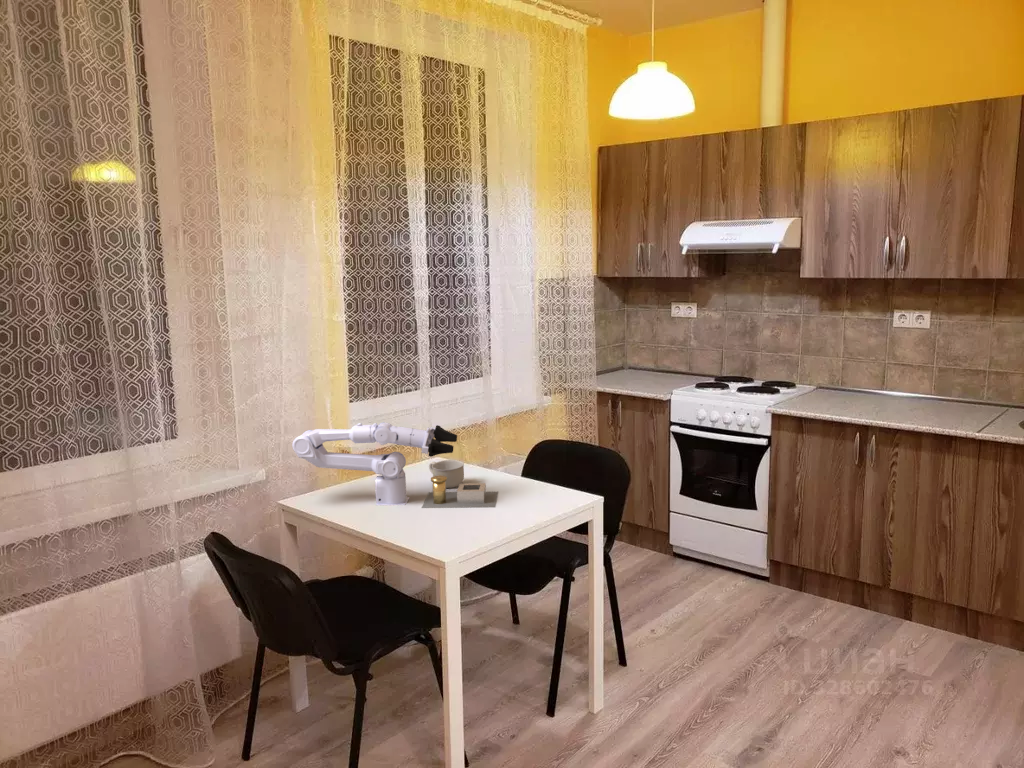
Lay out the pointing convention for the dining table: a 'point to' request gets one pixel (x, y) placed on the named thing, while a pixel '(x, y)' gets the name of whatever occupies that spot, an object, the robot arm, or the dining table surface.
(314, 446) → the robot arm
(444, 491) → the brass door knob
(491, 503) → the mat
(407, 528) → the dining table surface
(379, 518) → the dining table surface
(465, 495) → the block
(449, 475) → the teacup
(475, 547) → the dining table surface
